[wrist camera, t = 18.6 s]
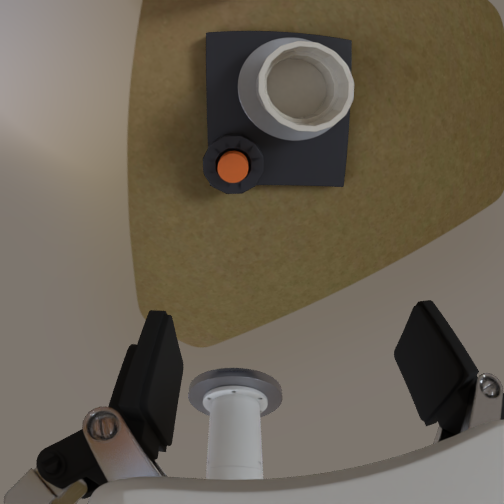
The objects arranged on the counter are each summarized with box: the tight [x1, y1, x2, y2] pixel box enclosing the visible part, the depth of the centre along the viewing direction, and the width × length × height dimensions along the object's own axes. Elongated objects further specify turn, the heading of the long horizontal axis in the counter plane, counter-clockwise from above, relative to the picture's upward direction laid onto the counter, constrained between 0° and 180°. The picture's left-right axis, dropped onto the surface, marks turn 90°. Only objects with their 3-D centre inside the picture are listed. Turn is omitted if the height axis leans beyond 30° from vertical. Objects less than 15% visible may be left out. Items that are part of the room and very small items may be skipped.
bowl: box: [256, 41, 354, 132], centre depth 20 cm, size 7×7×6 cm
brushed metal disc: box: [238, 38, 333, 141], centre depth 22 cm, size 10×10×1 cm
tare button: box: [217, 151, 248, 183], centre depth 26 cm, size 3×3×2 cm
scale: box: [203, 31, 351, 194], centre depth 25 cm, size 16×14×3 cm
